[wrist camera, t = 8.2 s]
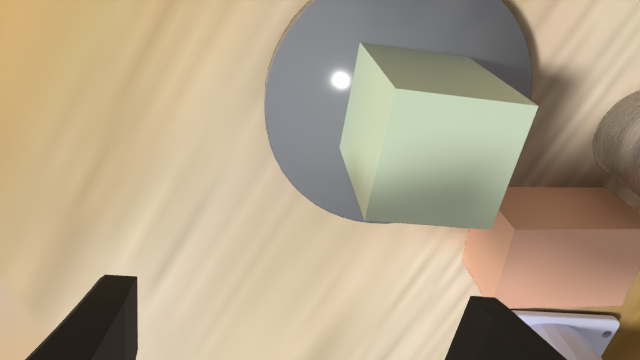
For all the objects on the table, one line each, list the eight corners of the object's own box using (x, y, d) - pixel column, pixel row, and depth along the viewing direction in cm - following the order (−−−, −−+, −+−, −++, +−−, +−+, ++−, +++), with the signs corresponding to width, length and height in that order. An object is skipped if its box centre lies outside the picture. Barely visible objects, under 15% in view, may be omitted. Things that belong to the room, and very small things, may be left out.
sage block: (438, 157, 19) (491, 229, 15) (339, 147, 19) (364, 220, 14) (468, 56, 17) (538, 105, 13) (360, 41, 17) (395, 88, 12)
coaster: (472, 219, 22) (481, 232, 21) (251, 200, 20) (250, 213, 20) (559, -13, 18) (575, -9, 17) (283, -64, 16) (284, -63, 15)
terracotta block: (576, 255, 24) (621, 305, 21) (460, 257, 23) (490, 309, 20) (603, 185, 22) (658, 228, 19) (478, 184, 22) (515, 229, 19)
